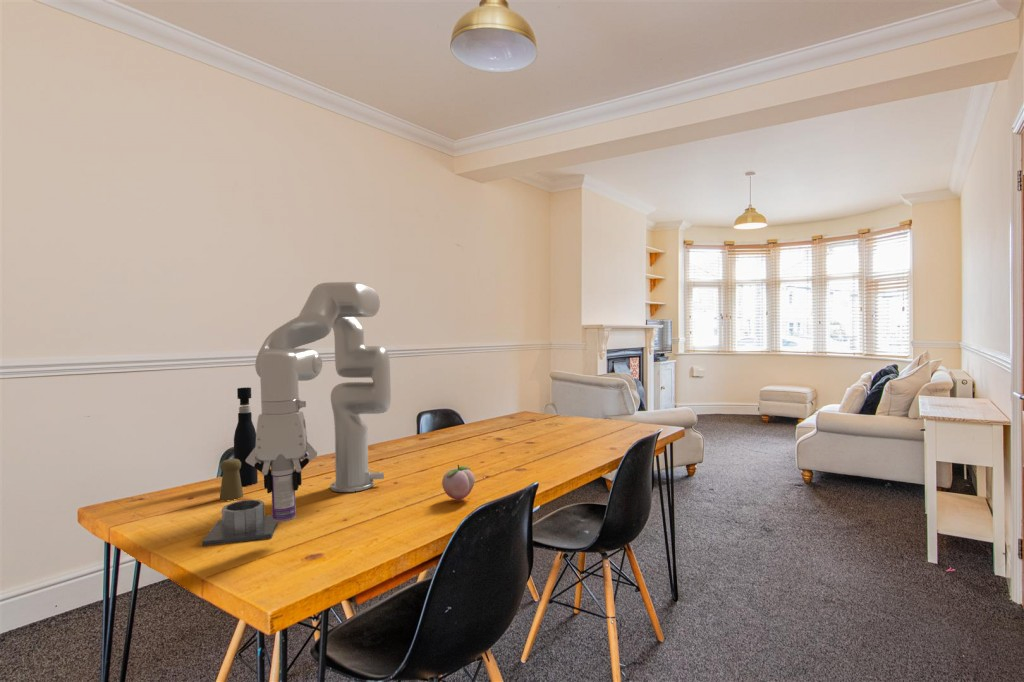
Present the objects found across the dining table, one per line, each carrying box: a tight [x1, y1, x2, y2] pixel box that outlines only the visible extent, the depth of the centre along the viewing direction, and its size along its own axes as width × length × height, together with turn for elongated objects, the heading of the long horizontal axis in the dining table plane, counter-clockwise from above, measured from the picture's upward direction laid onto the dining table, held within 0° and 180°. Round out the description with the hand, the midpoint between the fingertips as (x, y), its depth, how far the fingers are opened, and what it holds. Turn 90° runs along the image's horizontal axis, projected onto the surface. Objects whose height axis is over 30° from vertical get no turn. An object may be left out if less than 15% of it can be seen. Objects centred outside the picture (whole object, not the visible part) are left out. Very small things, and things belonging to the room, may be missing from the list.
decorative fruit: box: [441, 464, 476, 502], centre depth 144 cm, size 9×8×10 cm
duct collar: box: [201, 499, 279, 547], centre depth 124 cm, size 14×14×6 cm
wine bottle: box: [233, 386, 259, 487], centre depth 165 cm, size 6×6×30 cm
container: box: [270, 454, 297, 523], centre depth 116 cm, size 5×5×15 cm
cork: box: [219, 458, 244, 501], centre depth 150 cm, size 6×6×11 cm
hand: (283, 489), depth 116 cm, fingers closed on container, 4 cm apart
